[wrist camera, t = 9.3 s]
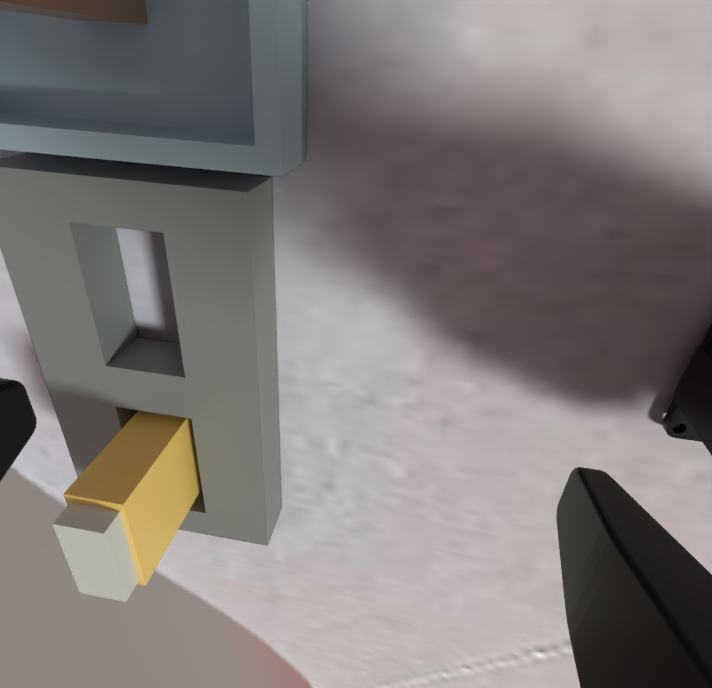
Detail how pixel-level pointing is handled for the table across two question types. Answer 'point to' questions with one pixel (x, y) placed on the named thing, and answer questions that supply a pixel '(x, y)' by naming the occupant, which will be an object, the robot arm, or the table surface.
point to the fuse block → (192, 308)
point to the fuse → (129, 505)
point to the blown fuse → (83, 9)
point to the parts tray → (161, 85)
